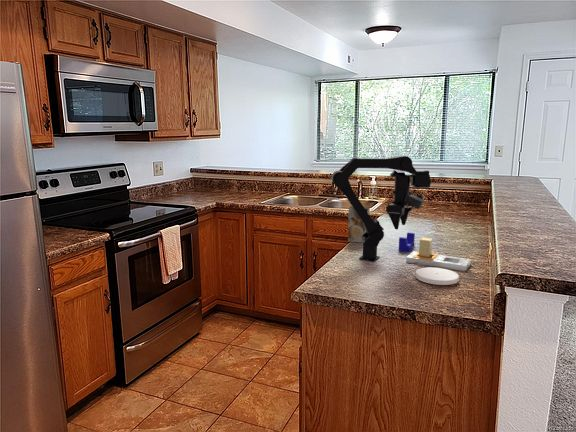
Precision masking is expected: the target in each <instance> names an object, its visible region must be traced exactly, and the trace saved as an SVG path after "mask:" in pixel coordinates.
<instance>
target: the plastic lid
mask: <svg viewBox="0 0 576 432" xmlns="http://www.w3.org/2000/svg"><path fill="white" fill-rule="evenodd" d="M459 277H460V276H459V274H458V273H457V272H455V271H454V270H452V269H448V268H441V267H435V266H429V267H428V266H427V267H422V268H418V269H416V271H415V278H416V279H417V280H419V281H421V282H423V283H427V284H431V285H437V286H448V285H454V284H457V283H459Z"/></svg>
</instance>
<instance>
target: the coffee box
mask: <svg viewBox="0 0 576 432" xmlns="http://www.w3.org/2000/svg"><path fill="white" fill-rule="evenodd" d="M363 207H364V208H365V210H366V211H367V213H368V214H369V215H370V206H363ZM347 215H348V217H347V218H348V223H347V224H348V227H347V234H348V235H347V236H348V237H347V241H348V242H351V243H352V242H353V243H362V244H363V243H364V242H363V240H362V237H361V236H362V235H363V234H364V233H365V232H366V229H365V227H364V224H363V222H362V220H361V219H360V217H359V216H358V214H357V213H356V211H355V210H354V208H353V207H352V205H350V206H349V207H348V214H347Z"/></svg>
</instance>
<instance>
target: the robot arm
mask: <svg viewBox="0 0 576 432" xmlns="http://www.w3.org/2000/svg"><path fill="white" fill-rule="evenodd" d="M357 169H390V170H393V171H392V172H391V173H390V174H389V176H390V177H392V178H394V187H393V188H394V190H392V194H393V200H392V203H390V204H389V203H388V205H386V206H385V212H386V213H387V214H388V216H389V219H390V221H391V222H392V226H393V227H394V229H395V230H399V225H400V222H401V225H402V226H405V225H406V223H407V220H408V217H409V214H410V212H411V211H412V210H414V208H415V209H421V208H422V207H423V205H424V204H425V199H424V195H423V194H421V193H420V194H417V195H414V194H412V193H413V192H412V191H411V190H410V186H412V187H413V189H429V188H430V187H431V183H432V179H431V175H430V170H416V168H415V167H414V166H413V160H412V158H411V157H409V156H406V155H402V154H400V155H395V156H391V157H386V158H385V157H384V158H383V157H382V158H381V157H380V158H379V157H378V158H376V157H372V158H371V157H369V158H367V157H363V158H362V157H361V158H360V157H359V158H358V157H352V158H350V160H349V161H348V162H347V163H346V164H345V165H343V166H342V167H341V168H340V169H339V170H336V171H334V172H332V174H331V178H330V179H331V182H332V183H333V184H334V186H336V188H337V189H339V191H340V192H341V193H342V194H343V195H344V196H345V197H346V199H347V200H348V202H349V203H350V206H352V207H353V208H354V210H355V211H356V213H357V214H358V216H359V217H360V219H361V220H362V222H363V224H364V227H365V229H366V232H365V233H364V234H363V235H362V236H361V237H362V240H363V242H364V243H362V253H361V254H362V255H361V256H360V257H359V260H364V261H371V262H376V261H377V260H378V259H380V258H381V257H380V255H378V246H379V244H380V241H382V240H383V239H384V237H385V232H384V230H385V229H384V227H383V226H382V225H381V223H380V221H379V220H378V218H374V219H373V218H372V217H371V216H370V213H369V214H368V213H367V211H366V210H365V208H364V207H365V206H364V205H363V204H362V202H361V201H360V199H359V198H358V196H357V195H356V193H355V192H354V190H353V187H352V185H351V182H350V180H349V179H350V178H351V176H352V175H353V174H354V173H355V171H357ZM399 171H400V172H399ZM405 172H406V173H408V174H406V173H405Z"/></svg>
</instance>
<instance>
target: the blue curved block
mask: <svg viewBox="0 0 576 432" xmlns="http://www.w3.org/2000/svg"><path fill="white" fill-rule="evenodd" d="M415 236H416V234H415V232H410V231H408V232H406V236H404V237H402V236H399V239H398V252H404V253H411V251H412V250H413V251H414V246H415V239H416V238H415Z"/></svg>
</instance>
